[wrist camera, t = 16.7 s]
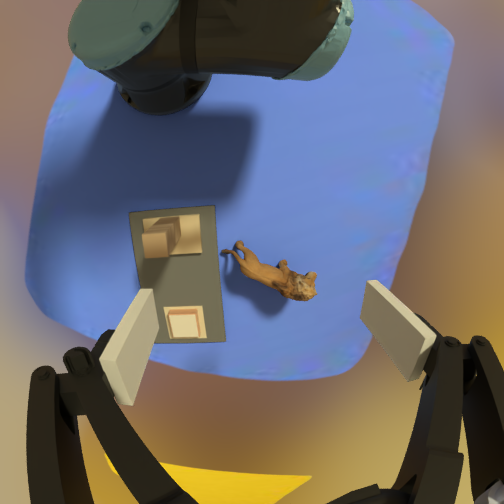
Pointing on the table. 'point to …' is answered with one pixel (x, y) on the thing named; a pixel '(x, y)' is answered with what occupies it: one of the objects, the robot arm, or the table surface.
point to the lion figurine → (276, 275)
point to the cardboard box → (171, 235)
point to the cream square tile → (184, 323)
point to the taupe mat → (183, 277)
